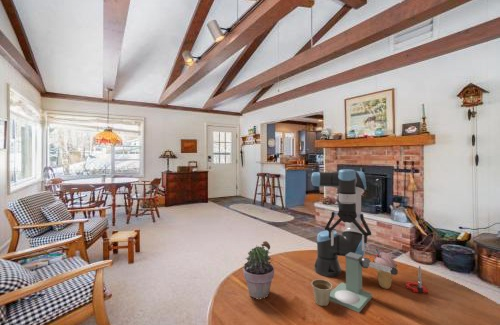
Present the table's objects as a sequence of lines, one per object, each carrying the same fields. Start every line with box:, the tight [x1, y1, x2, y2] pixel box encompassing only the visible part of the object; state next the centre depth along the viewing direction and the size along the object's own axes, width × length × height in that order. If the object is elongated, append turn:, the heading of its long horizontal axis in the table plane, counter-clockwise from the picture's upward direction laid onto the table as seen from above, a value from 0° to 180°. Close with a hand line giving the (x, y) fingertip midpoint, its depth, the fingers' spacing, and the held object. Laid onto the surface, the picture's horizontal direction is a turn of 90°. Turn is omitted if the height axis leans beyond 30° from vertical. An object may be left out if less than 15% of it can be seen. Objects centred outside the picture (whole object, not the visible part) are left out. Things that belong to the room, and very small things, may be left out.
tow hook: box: [405, 265, 429, 294], centre depth 124 cm, size 8×13×9 cm
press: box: [329, 252, 373, 314], centre depth 116 cm, size 15×17×19 cm
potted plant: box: [240, 241, 275, 300], centre depth 120 cm, size 18×20×25 cm
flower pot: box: [311, 278, 333, 307], centre depth 113 cm, size 9×9×9 cm
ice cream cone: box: [372, 248, 398, 290], centre depth 126 cm, size 11×11×20 cm
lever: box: [360, 257, 399, 276], centre depth 112 cm, size 16×3×4 cm, turn 45°
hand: (347, 247), depth 114 cm, fingers open, 13 cm apart
